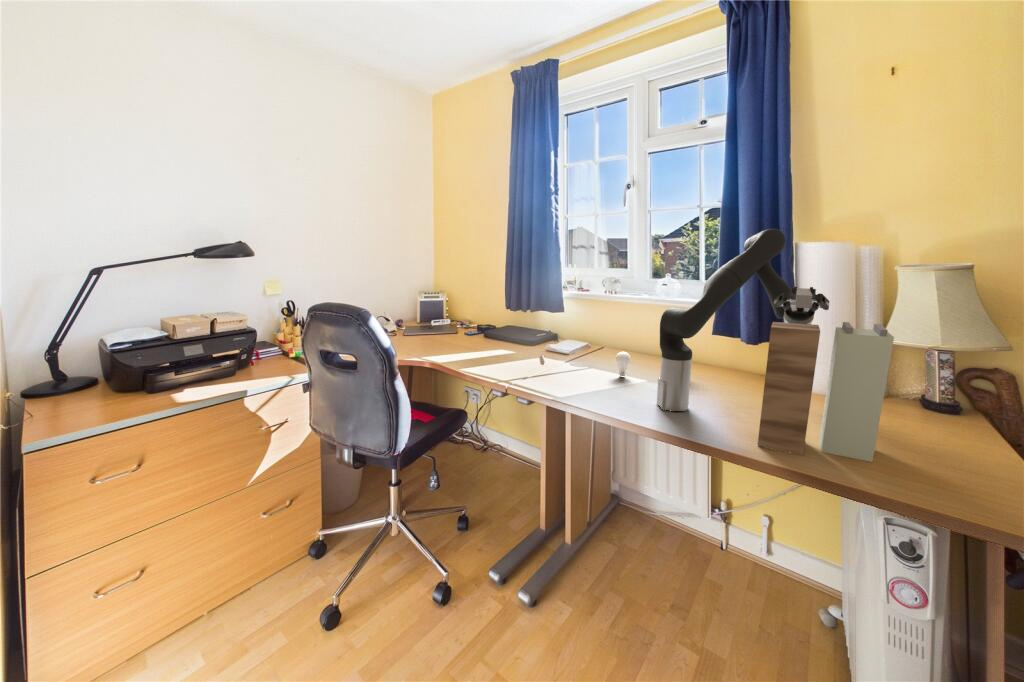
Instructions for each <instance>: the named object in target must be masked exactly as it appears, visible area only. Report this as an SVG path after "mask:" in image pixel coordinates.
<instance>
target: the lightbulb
mask: <svg viewBox="0 0 1024 682" xmlns="http://www.w3.org/2000/svg"><path fill="white" fill-rule="evenodd" d="M631 360H632V357H631V355H630V354H629V353H628V352H626V351H620V352H618V353H617V354H616V355H615V357H614V362H615V364H616V365H617V367H618V376H619V375H620V376H625V375H626V373H627V369H628V367H629V365H630V364H631V363H632V361H631ZM620 376H619V377H620ZM625 377H626V376H625Z"/></svg>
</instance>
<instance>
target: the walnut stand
mask: <svg viewBox="0 0 1024 682" xmlns="http://www.w3.org/2000/svg"><path fill="white" fill-rule="evenodd" d="M820 336H821V328H820V325H819V324H813V323H811V324H797V323H783V322H778V321H773V322H772V323H771V326H770V333H769V342H768V352H767V360H766V366H765V367H766V368H765V376H764V385H763V392H762V393H763V395H762V402H761V403H762V405H761V411H760V413H761V414H760V420H759V429H758V437H757V438H758V439H757V445H758V446H757V447H759V446H763V447H762V448H764V447H767V448H766V449H769V448H772V449H771V450H774V449H776V450H775V451H779V450H781V451H780V452H783V451H785V452H784V453H788V452H791V453H790V454H793V453H794V455H798V454H799V455H798V456H804V452H805V445H806V436H807V429H808V425H809V424H808V423H809V415H810V408H811V401H812V394H813V386H814V380H815V372H816V366H817V358H818V350H819V343H820V338H821V337H820Z"/></svg>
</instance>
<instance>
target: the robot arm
mask: <svg viewBox="0 0 1024 682" xmlns="http://www.w3.org/2000/svg"><path fill="white" fill-rule="evenodd" d="M785 245H786V237H785V234H784V233H783V231H782V230H780V229H777V228H767V229H764V230H761V231H759V232H758V233H756V234H754V235H752V236H750V237H749V238H747V239H746V240H745V241H744V245H743V252H741V254H739V255H737V256H735V257H734V258H733V259H731V260H729V261H728V262H726V263H725V264H723V265H722V266H720V267H719V268H718V269H717V270H716V271H714V273H712V274H711V275H710V277H708V279H707V280H706V281H705V284H704V287H703V291H702V296H701V297H700V299H698V301H697V302H696V303H695V304H693V305H692V306H691V307H688V309H687V308H681V307H669V308H667V309H665V311H663V313H662V315H661V316H660V323H659V348H660V350H661V359H660V361H661V362H660V373H659V375H660V376H659V377H658V379H657V393H656V405H657V404H658V405H659V406H660V407H661V409H666V410H671V411H684V412H686V411H685V410H687V409H688V410H689V403H690V402H689V400H690V386H691V375H692V362H693V350H692V348H690V347H689V346H688V345H687V344H686V343H685V341H684V339H685V340H686V339H690V338H693V337H695V335H697V334H698V333H699V332H700V330H701V329H702V328H703V327H704V326H706V324H707V323H708V321H709V320H710V319H711V318H712V316H714V314H715V313H716V312H717V311H718V310H720V308H721V307H722V306H723V305H724V304H725V303H726V302H727V301H729V299H731V298H732V297H733V296H734V295H735V294H736V293H737V292H738V291H739V290H741V288H742V287H743V286H744V285H745V284H746V283H748V281H749V280H750V279H751V278H753V276H754V275H757V277H758V279H759V281H760V282H761V284H762V286H763V287H764V289H765V292H766V294H767V296H768V299H769V301H770V304H771V307H772V310H773V313H774V315H775V317H776V318H777V319H780V320H781V319H783V322H782V323H797V324H813V321H814V318H815V314H816V312H817V311H818V310H819V309H822V310H825V311H828V310H829V309H830V300H829V299H828V298H827V297H826V296H825V295H824V294H823V293H817V294H816V291H817V289H816V288H814V287H813V286H809V289H810V291H811V293H812V303H811V308H795V297H796V290H797V288H798V286H794V287H790V285H789V283H787V282H786V281H785V280H784V279H783V278H782V277H781V276H780V275H779V274H777V272H776V271H775V270H774V268H773V267H772V264H771V260H772V259H773V258H775V257H776V256H777V255H779V254H780V253H781V252H782V251H783V250H784V247H785ZM658 405H657V406H658ZM659 406H658V407H659ZM660 407H659V408H660ZM666 410H665V411H666ZM688 410H687V411H688ZM671 411H670V412H671Z"/></svg>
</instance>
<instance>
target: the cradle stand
mask: <svg viewBox="0 0 1024 682" xmlns="http://www.w3.org/2000/svg"><path fill="white" fill-rule="evenodd" d="M894 339H895V337H894V336H893V335H892V334H891V333H890V332H889V331H888V329H887V328H885V326H883V325H882V324H880V323H873V329H867V328H866V329H865V328H854V327H853V325H852V324H851V323H850V322H849V321H848V322H847V321H843V322H842V326H841V327H838V326H836V327H835V329H834V336H833V344H832V352H831V356H830V357H831V358H830V363H829V369H828V370H829V371H828V379H827V385H826V392H825V400H824V406H823V414H822V419H821V426H820V432H819V443H820V451H821V453H826V454H831V455H835V456H840V457H846V458H852V459H857V460H861V461H867V462H871V463H872V462H873V458H874V456H875V455H874V454H875V449H876V444H877V438H878V432H879V426H880V420H881V416H882V415H881V413H882V409H883V403H884V397H885V393H886V392H885V391H886V385H887V381H888V380H887V379H888V376H889V368H890V362H891V357H892V350H893V346H894Z"/></svg>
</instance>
